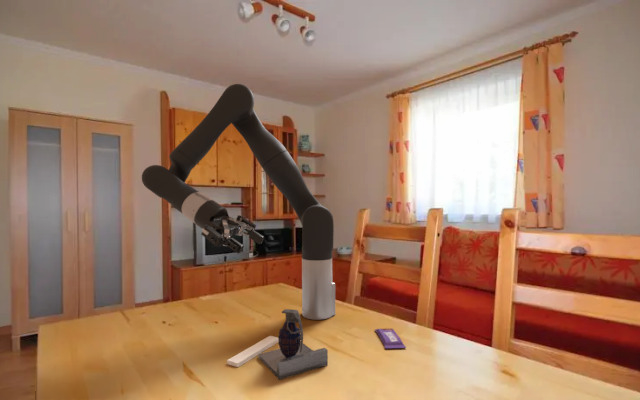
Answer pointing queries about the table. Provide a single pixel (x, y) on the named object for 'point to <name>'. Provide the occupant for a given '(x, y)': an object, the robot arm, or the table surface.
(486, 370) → the table surface
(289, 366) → the plate
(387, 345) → the snack package
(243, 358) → the door edge strip
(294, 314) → the hand grenade
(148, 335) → the table surface
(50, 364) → the table surface
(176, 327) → the table surface
